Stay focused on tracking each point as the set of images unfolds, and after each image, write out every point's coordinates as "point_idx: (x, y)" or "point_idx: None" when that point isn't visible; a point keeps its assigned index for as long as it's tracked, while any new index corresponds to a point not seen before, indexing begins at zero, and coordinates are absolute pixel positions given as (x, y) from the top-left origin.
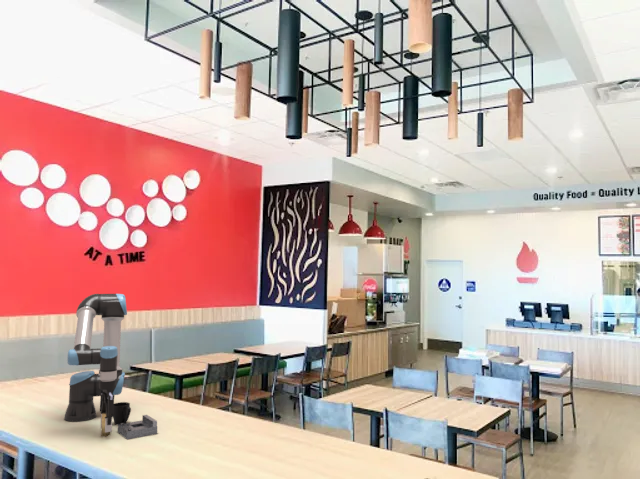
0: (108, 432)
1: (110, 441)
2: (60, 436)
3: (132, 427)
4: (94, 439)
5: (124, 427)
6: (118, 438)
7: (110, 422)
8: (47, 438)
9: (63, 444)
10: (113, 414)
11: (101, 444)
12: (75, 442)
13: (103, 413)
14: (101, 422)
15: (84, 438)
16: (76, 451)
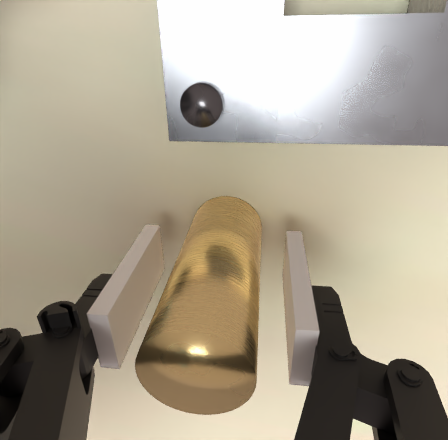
0: (258, 233)
1: (411, 249)
2: (107, 398)
3: (422, 28)
4: (278, 307)
5: (341, 118)
6: (385, 178)
7: (339, 311)
8: (114, 435)
9: (260, 424)
10: (437, 398)
11: (426, 310)
12: (264, 386)
13: (175, 397)
14: (147, 301)
15: None
16: None
